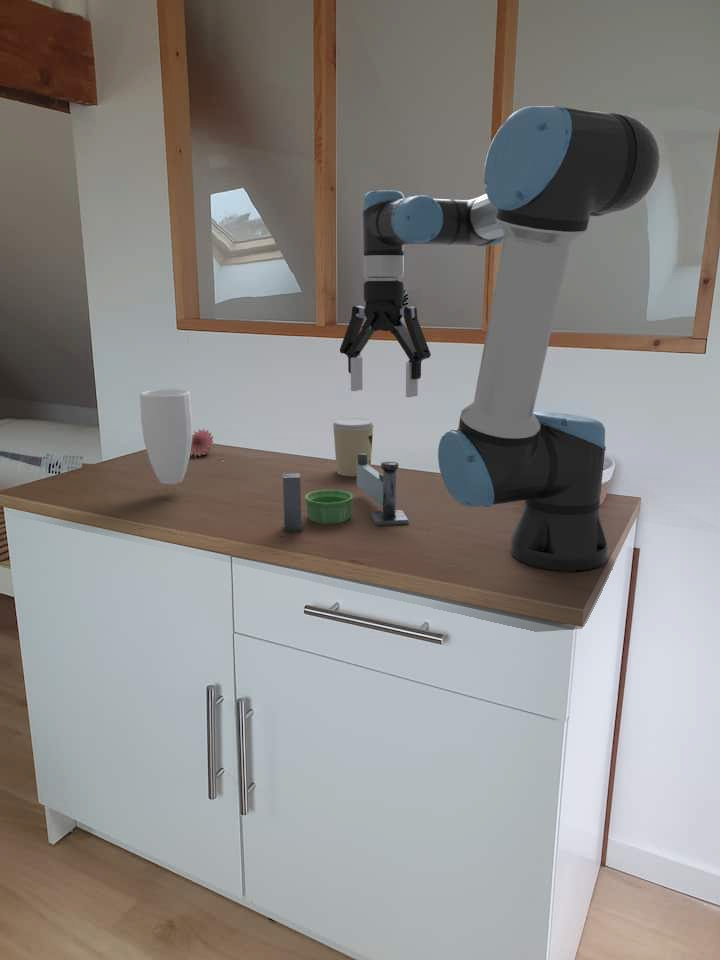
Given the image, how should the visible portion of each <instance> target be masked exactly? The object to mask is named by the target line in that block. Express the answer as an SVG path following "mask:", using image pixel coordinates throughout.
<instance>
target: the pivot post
mask: <svg viewBox="0 0 720 960" xmlns="http://www.w3.org/2000/svg"><path fill="white" fill-rule="evenodd" d="M380 467H381V469H382V473H383V507H382V510H376V511H375V510H374V511H370V517H371V518H372V520H373V523H374V524H375V526H393V525H409V519H408V517H407V516H406V514H405V513H404V511H403V510H402V509H398V510H397V470H399V463H398V462H396V461H384V462H381V464H380Z"/></svg>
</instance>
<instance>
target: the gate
mask: <svg viewBox="0 0 720 960" xmlns="http://www.w3.org/2000/svg"><path fill="white" fill-rule="evenodd" d="M356 486H357V488H359V490H361V491H362V492H363V493H365V494H366V496H368V497H369V498H371V500H373V501H374V502H375V503H376V504H377V505H379V506H380V507H381V508H383V472H382V473H381V472H379V471H377V469H375V468H374V467H372V466H371V465H370V466H369V465H368V464H367V454H366V453H359V454H358V462H357V476H356Z"/></svg>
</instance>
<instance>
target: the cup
mask: <svg viewBox="0 0 720 960" xmlns="http://www.w3.org/2000/svg"><path fill="white" fill-rule="evenodd" d="M139 399H140V401H139V403H140V404H139V405H140V421H141V422H140V423H141V428H142V435H143V442H144V445H145V449H146V452H147V456H148V460H149V462H150V465H151V467H152V469H153V471H154V474H155V475H156V477H157V479H158V481H159V483H161V484H163V485H175V484H179V483H180V484H181V483H182V482H183V481H184V478H185V475H186V473H187V469H188V464H189V461H190V456H191V452H192V451H191V444H192V435H193V413H192V401H191V393H190V391H188V390H186V389H180V388H178V389H177V388H162V389H152V390H146V391H143V392H141V393H140V395H139Z"/></svg>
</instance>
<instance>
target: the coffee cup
mask: <svg viewBox="0 0 720 960" xmlns="http://www.w3.org/2000/svg"><path fill="white" fill-rule="evenodd" d="M374 426H375V425H374V423H373V421H372V420H371V419H368V418H359V417H358V418H357V417H352V418H351V417H349V418H347V417H346V418H339V419H336V420H334V421H333V425H332V428H333V437H334V450H335V451H334V452H335V453H334V454H335V464H336V472H337V474H338V475H340V476H345V477H357V462H358V454H359V453H366V454H367V464H368V465H369V466H370V467H371V465H372V464H371V463H372V462H371V461H372V452H373V451H372V449H373V435H374V434H373V433H374V432H373V431H374Z"/></svg>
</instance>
